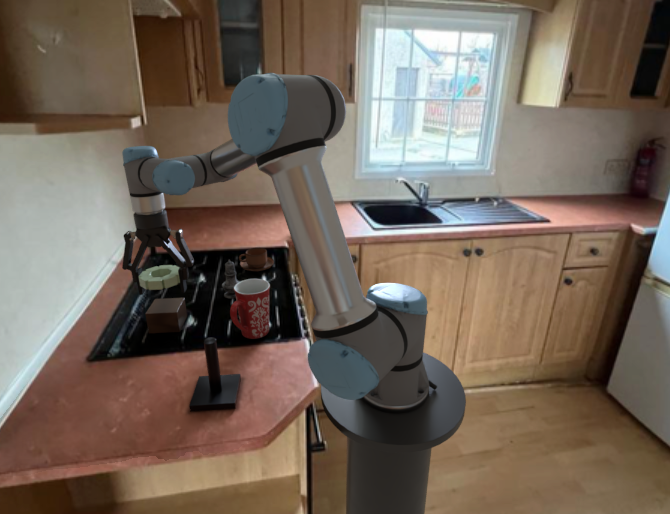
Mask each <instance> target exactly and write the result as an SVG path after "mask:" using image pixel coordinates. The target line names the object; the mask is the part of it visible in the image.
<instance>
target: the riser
mask: <svg viewBox="0 0 670 514" xmlns="http://www.w3.org/2000/svg"><path fill="white" fill-rule="evenodd" d="M144 315H145V320H146V326H147V330H148V334H165V333H180V332H181V330H182V329H183V326H184V324H185V321H186V320H187V318H188V311H187V306H186V299H185V297H173V298H172V297H167V298H166V297H165V298H154V300H153V301H152V303H151V304H150V306H149V307H148V309H147V311H146V312H145V314H144Z"/></svg>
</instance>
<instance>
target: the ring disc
mask: <svg viewBox="0 0 670 514" xmlns="http://www.w3.org/2000/svg"><path fill="white" fill-rule="evenodd" d="M179 268H180V267H179V266H178V265H175V264H174V265H173V264H163V265H159V266H157V265H156V266H153V267H149V268H147V269H145V270H142V273H141V274H140V275H139V276H138V277H139V282H140V286H141V287H143V288H145V289H146V290H148V291H157V290H159V291H160V290H163V289H169V288H171V287H174V286H177V285H179V284H180V279H179V273H178V270H179Z"/></svg>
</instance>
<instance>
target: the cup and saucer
mask: <svg viewBox="0 0 670 514" xmlns="http://www.w3.org/2000/svg"><path fill="white" fill-rule="evenodd" d="M242 257H245V258H243V259H242ZM238 259H239V261H240V263H239V265H240V268H242V269H243V270H245V271H247V272H262V271H266V270H268V269H270V268H272V267H273V266H274V264H275V260H274V259H273V258H272V257H270V256H268V250H267V249H266V248H264V247H251V248H249V249H247V250H246V251H245V253H242V254H240V255H239V257H238Z"/></svg>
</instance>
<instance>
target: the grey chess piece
mask: <svg viewBox="0 0 670 514" xmlns="http://www.w3.org/2000/svg"><path fill="white" fill-rule="evenodd" d="M224 268H225V269H224V270H225V272H224V275H225V281H223V283H222V284H221V287H222V289H223V290H224V294H223V297H224V298H226V299H236V295H235V291H234V286H235V285H236V284H237V283H239V282H241V280H238V279H237V270H236V266H235V263H234V261H231V259H228V261H227V262H225V263H224Z"/></svg>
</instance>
